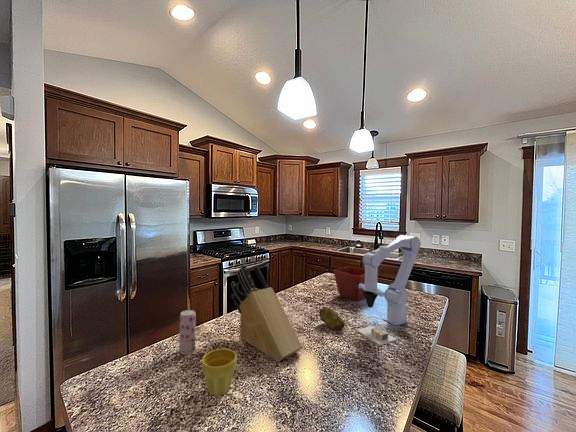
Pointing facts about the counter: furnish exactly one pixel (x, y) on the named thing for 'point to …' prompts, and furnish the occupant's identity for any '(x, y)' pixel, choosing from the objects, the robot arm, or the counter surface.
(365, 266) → the robot arm
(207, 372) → the plant pot
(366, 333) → the mat
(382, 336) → the green-faced wooden block
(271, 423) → the counter surface
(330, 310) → the potato
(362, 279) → the plant pot
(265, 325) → the knife block
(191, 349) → the beverage can
